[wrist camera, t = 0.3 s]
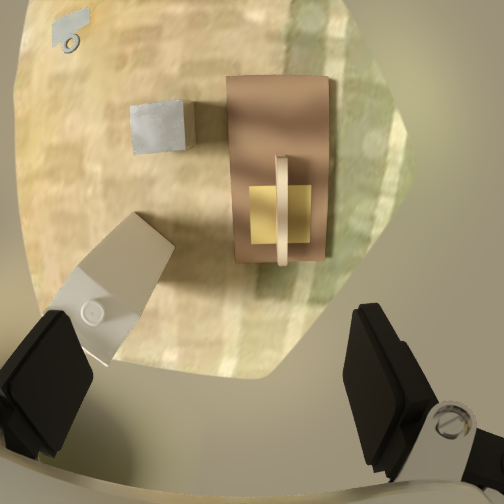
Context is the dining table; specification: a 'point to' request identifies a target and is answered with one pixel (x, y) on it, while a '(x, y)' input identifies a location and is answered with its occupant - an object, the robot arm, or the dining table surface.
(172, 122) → the notched grey block
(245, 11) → the dining table surface
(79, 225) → the dining table surface
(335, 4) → the dining table surface
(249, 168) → the rail board
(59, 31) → the mounting bracket
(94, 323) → the milk carton
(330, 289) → the dining table surface
